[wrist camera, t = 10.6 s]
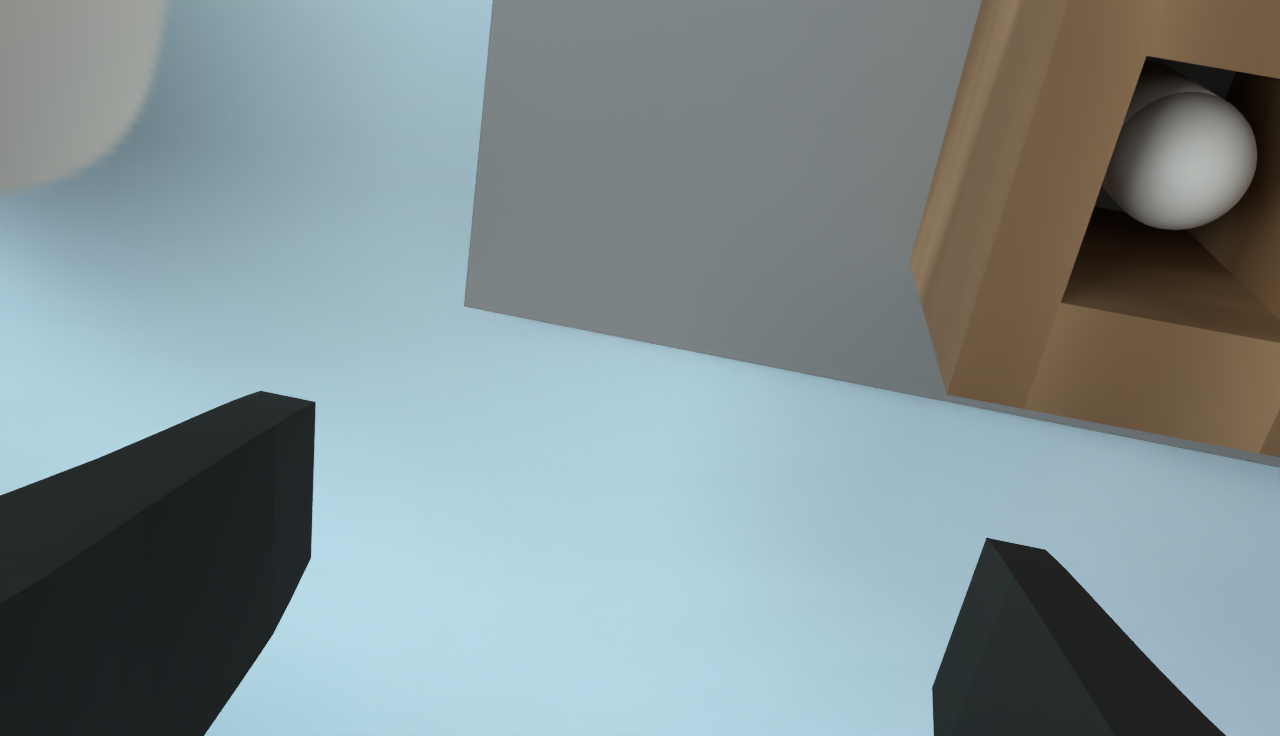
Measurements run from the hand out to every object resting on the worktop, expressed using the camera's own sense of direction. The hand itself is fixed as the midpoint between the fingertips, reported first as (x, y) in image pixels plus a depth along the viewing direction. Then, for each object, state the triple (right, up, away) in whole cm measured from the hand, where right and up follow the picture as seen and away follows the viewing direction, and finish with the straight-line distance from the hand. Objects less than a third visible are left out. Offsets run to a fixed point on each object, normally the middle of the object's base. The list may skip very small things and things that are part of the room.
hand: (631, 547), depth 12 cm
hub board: (+8, +8, +6) cm, 12 cm away
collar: (+8, +6, +6) cm, 11 cm away
